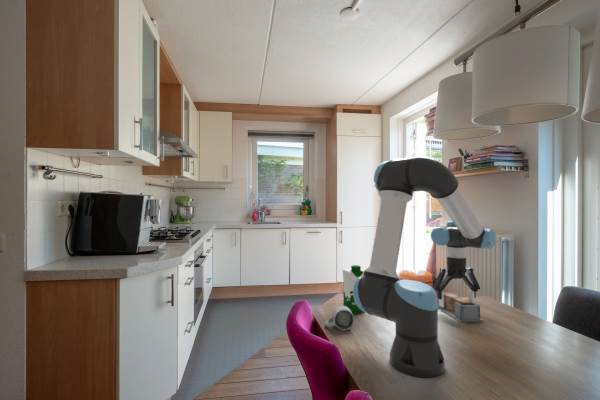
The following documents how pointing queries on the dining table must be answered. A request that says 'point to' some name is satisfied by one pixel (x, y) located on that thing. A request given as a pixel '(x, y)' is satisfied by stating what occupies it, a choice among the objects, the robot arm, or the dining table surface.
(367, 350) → the dining table surface
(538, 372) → the dining table surface
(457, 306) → the endcap holder
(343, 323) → the ceramic mug
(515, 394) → the dining table surface
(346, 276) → the milk carton
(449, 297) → the wooden block
